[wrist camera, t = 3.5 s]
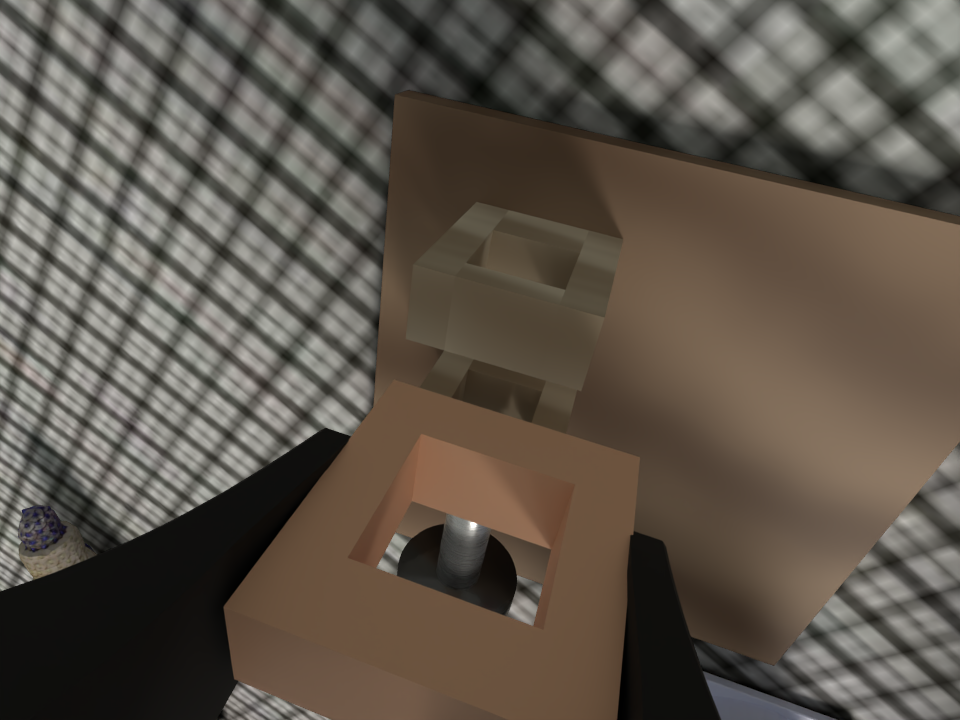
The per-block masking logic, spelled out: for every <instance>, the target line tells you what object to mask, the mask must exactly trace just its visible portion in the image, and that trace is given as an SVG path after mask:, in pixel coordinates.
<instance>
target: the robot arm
mask: <svg viewBox="0 0 960 720" xmlns="http://www.w3.org/2000/svg"><path fill="white" fill-rule="evenodd" d="M350 438H351V436H348V435H345V434H342V433H339V432H336V431H334V430H331V429H328V428H325V429H323V430H321V431H319V432H317V433H316V434H314V435H313V436H311V437H310V438H308V439H307V440H305V441H304V442H302V443H301V444H299V445H298V446H296V447H295V448H293V449H292V450H290V451H289V452H287V453H286V454H284V455H283V456H281V457H279V458H278V459H276V460H275V461H273V462H272V463H270V464H269V465H267V466H265V467H264V468H262V469H261V470H259V471H257V472H256V473H254V474H252V475H251V476H249V477H248V478H246V479H244V480H243V481H241V482H239V483H238V484H236V485H235V486H233V487H231V488H230V489H228V490H226V491H224V492H223V493H221V494H219V495H217V496H216V497H214V498H212V499H210V500H208V501H207V502H205V503H203V504H201V505H199V506H198V507H196V508H194V509H192V510H190V511H189V512H187V513H185V514H183V515H181V516H179V517H177V518H175V519H174V520H172V521H170V522H168V523H166V524H164V525H162V526H160V527H158V528H156V529H154V530H152V531H150V532H147V533H145V534H143V535H141V536H139V537H137V538H135V539H133V540H130V541H128V542H126V543H124V544H122V545H119V546H117V547H115V548H112V549H110V550H108V551H105V552H103V553H101V554H98V555H96V556H94V557H91V558H89V559H87V560H84V561H82V562H79V563H77V564H74V565H72V566H69V567H67V568H64V569H62V570H59V571H57V572H54V573H52V574H49V575H46V576H43V577H40V578H38V579H35V580H32V581H29V582H26V583H23V584H21V585H18V586H15V587H12V588H9V589H6V590H4V591H1V592H0V720H217V718H218V716H219V714H220V712H221V711H222V709H223V707H224V705H225V704H226V702H227V700H228V698H229V697H230V695H231V693H232V691H233V690H234V688H235V686H236V684H237V682H238V680H235V679H234V675H233V668H232V662H231V655H230V648H229V641H228V635H227V628H226V621H225V614H224V608H223V607H224V605H225V604H226V603H227V601H228V600H229V599H230V597H231V596H232V595H233V593H234V592H235V591H236V589H237V588H238V587H239V585H240V584H241V583H242V581H243V580H244V579H245V577H246V576H247V575H248V573H249V572H250V571H251V569H252V568H253V567H254V565H255V564H256V563H257V561H258V560H259V559H260V557H261V556H262V555H263V553H264V552H265V551H266V549H267V548H268V547H269V545H270V544H271V543H272V541H273V540H274V539H275V537H276V536H277V535H278V533H279V532H280V531H281V529H282V528H283V527H284V525H285V524H286V523H287V521H288V520H289V519H290V517H291V516H292V515H293V513H294V512H295V511H296V509H297V508H298V507H299V506H300V504H301V503H302V502H303V500H304V499H305V498H306V496H307V495H308V494H309V492H310V491H311V490H312V488H313V487H314V486H315V484H316V483H317V482H318V480H319V479H320V478H321V476H322V475H323V474H324V472H325V471H326V470H327V469H328V468H329V467H330V465H331V464H332V463H333V461H334V460H335V459H336V457H337V456H338V455H339V453H340V452H341V451H342V449H343V448H344V447H345V445H346V444H347V443H348V441H349V439H350ZM617 720H837V719H834V718H831V717H829V716H826V715H823V714H820V713H817V712H815V711H812V710H809V709H806V708H804V707H801V706H798V705H795V704H793V703H790V702H787V701H784V700H781V699H779V698H776V697H773V696H770V695H768V694H765V693H762V692H759V691H757V690H754V689H751V688H748V687H746V686H743V685H740V684H737V683H734V682H732V681H729V680H726V679H723V678H721V677H718V676H715V675H712V674H710V673H707V672H704V671H702V668H701V665H700V662H699V659H698V656H697V653H696V650H695V647H694V644H693V641H692V638H691V635H690V632H689V629H688V626H687V623H686V620H685V617H684V613H683V610H682V606H681V603H680V600H679V596H678V593H677V589H676V585H675V582H674V578H673V574H672V570H671V566H670V562H669V557H668V553H667V548H666V546H665V544H664V542H663V541H662V540H659V539H656V538H653V537H650V536H647V535H644V534H641V533H638V532H635V531H634V532H633V535H630V545H629V556H628V567H627V612H626V623H625V635H624V646H623V658H622V669H621V680H620V692H619V703H618V715H617Z"/></svg>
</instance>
